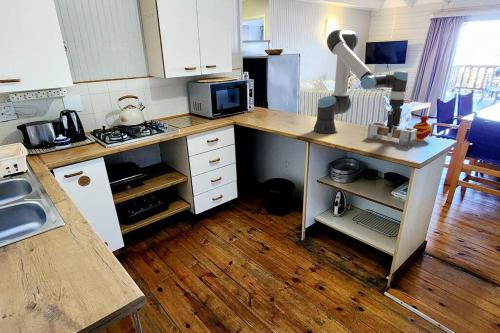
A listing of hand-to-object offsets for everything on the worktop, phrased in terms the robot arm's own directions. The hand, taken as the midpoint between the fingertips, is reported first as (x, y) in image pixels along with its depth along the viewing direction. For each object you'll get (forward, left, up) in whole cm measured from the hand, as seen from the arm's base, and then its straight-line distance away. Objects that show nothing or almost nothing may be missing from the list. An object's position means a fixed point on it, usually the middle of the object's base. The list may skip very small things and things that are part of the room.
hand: (391, 137), depth 181 cm
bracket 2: (+10, 0, -2) cm, 10 cm away
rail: (0, 0, +1) cm, 1 cm away
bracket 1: (-10, 0, -2) cm, 11 cm away
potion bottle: (+12, +15, -3) cm, 19 cm away
